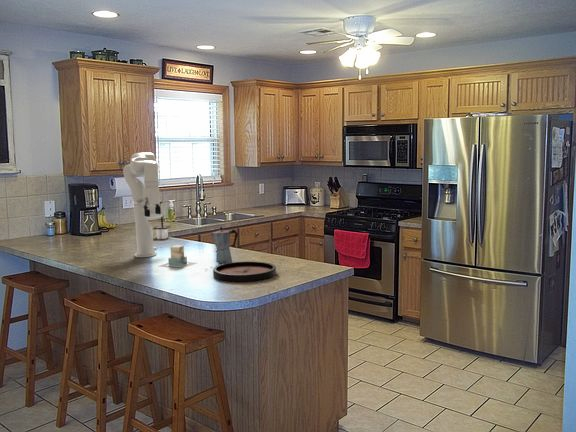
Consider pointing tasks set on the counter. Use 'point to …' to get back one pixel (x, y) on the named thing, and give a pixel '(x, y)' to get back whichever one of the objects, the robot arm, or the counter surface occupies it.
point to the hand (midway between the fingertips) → (152, 215)
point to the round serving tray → (244, 272)
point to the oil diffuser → (162, 230)
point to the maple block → (177, 251)
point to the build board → (177, 266)
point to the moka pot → (223, 245)
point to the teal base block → (177, 261)
